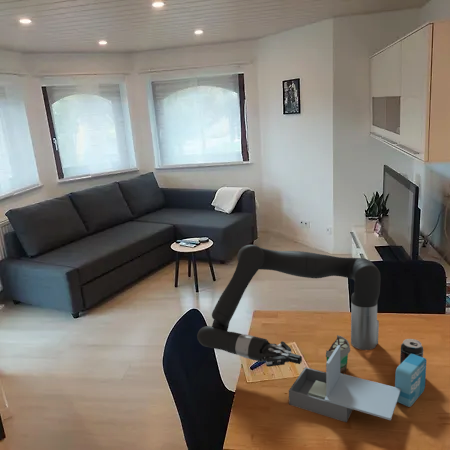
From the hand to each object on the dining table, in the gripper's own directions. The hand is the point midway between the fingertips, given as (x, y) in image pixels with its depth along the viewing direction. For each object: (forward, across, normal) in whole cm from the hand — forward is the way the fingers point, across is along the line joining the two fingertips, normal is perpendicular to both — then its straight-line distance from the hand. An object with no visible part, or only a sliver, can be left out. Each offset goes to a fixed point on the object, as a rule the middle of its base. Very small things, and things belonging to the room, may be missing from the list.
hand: (300, 360), depth 139 cm
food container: (+7, +18, +12) cm, 23 cm away
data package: (+30, +13, +12) cm, 35 cm away
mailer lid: (+19, 0, +7) cm, 20 cm away
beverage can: (+29, +25, +12) cm, 40 cm away
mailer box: (+8, 0, +12) cm, 14 cm away
